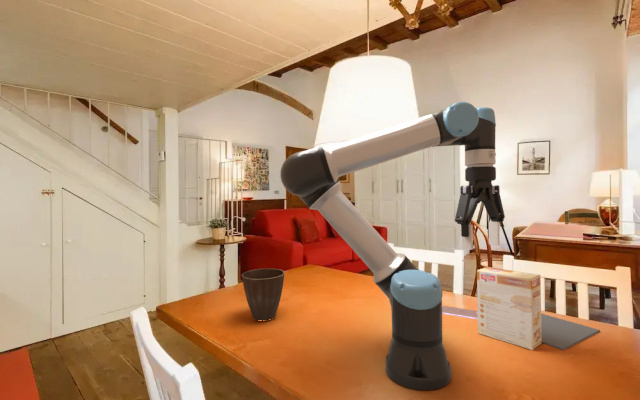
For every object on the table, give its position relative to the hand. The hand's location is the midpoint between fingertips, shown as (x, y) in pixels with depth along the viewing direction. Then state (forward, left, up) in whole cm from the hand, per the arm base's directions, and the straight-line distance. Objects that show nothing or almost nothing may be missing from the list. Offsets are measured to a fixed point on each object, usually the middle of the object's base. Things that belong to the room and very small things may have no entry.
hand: (481, 246), depth 90 cm
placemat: (+27, -1, -28) cm, 39 cm away
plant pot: (-43, +55, -28) cm, 75 cm away
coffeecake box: (+12, 0, -28) cm, 31 cm away
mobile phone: (+18, +20, -29) cm, 39 cm away
